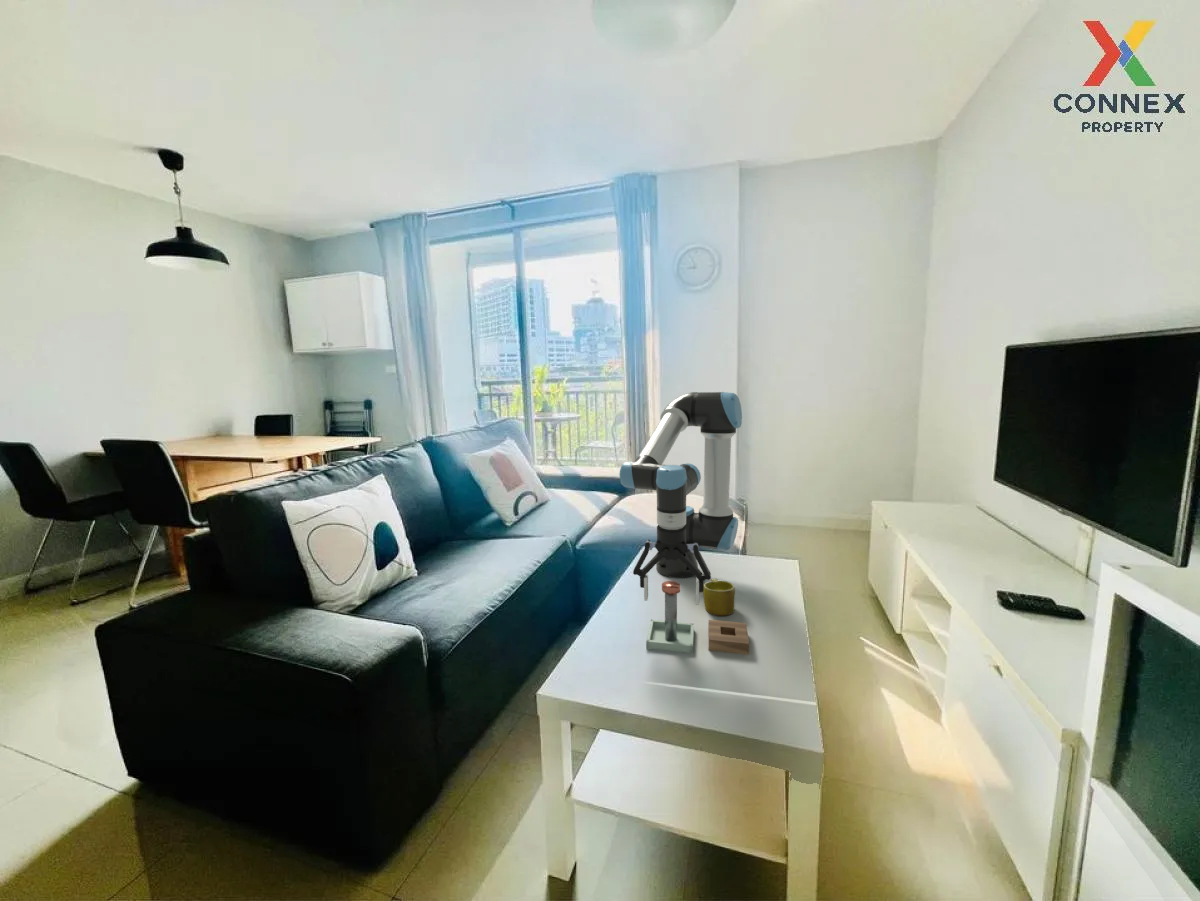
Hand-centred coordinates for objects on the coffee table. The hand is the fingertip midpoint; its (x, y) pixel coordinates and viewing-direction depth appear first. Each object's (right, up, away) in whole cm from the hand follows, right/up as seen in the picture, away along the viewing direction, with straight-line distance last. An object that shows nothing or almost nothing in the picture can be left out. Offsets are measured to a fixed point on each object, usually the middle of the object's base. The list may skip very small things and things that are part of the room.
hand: (671, 600), depth 125 cm
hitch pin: (0, -11, +1) cm, 11 cm away
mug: (+17, -8, +18) cm, 27 cm away
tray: (0, -11, +1) cm, 11 cm away
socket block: (+15, -11, 0) cm, 19 cm away
